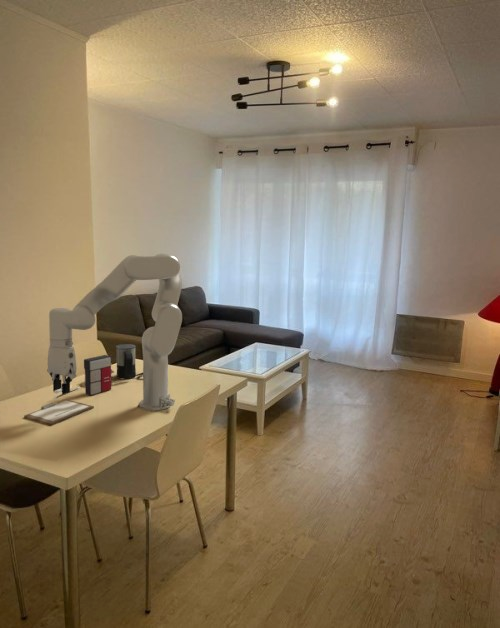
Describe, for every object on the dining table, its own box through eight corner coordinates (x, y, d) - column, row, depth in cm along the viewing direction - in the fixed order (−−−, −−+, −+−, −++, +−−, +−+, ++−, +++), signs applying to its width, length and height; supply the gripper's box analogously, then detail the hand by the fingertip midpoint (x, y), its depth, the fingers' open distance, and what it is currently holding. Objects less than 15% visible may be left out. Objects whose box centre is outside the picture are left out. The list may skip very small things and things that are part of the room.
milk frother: (112, 375, 227) (112, 345, 224) (142, 370, 237) (142, 341, 235) (127, 383, 216) (126, 351, 214) (157, 377, 227) (157, 346, 224)
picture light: (53, 399, 167) (53, 394, 167) (43, 398, 168) (43, 392, 168) (80, 388, 180) (80, 383, 180) (71, 387, 181) (71, 381, 181)
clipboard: (93, 408, 185) (93, 403, 185) (51, 425, 167) (51, 420, 167) (67, 401, 191) (67, 397, 191) (24, 417, 174) (24, 413, 173)
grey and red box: (90, 396, 198) (89, 361, 196) (84, 394, 201) (83, 359, 198) (112, 390, 207) (112, 356, 204) (106, 387, 209) (105, 354, 207)
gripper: (86, 344, 171) (86, 393, 174) (53, 337, 178) (53, 385, 181) (69, 348, 164) (70, 399, 167) (36, 341, 171) (37, 390, 174)
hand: (61, 391), depth 174 cm, fingers closed on picture light, 3 cm apart
